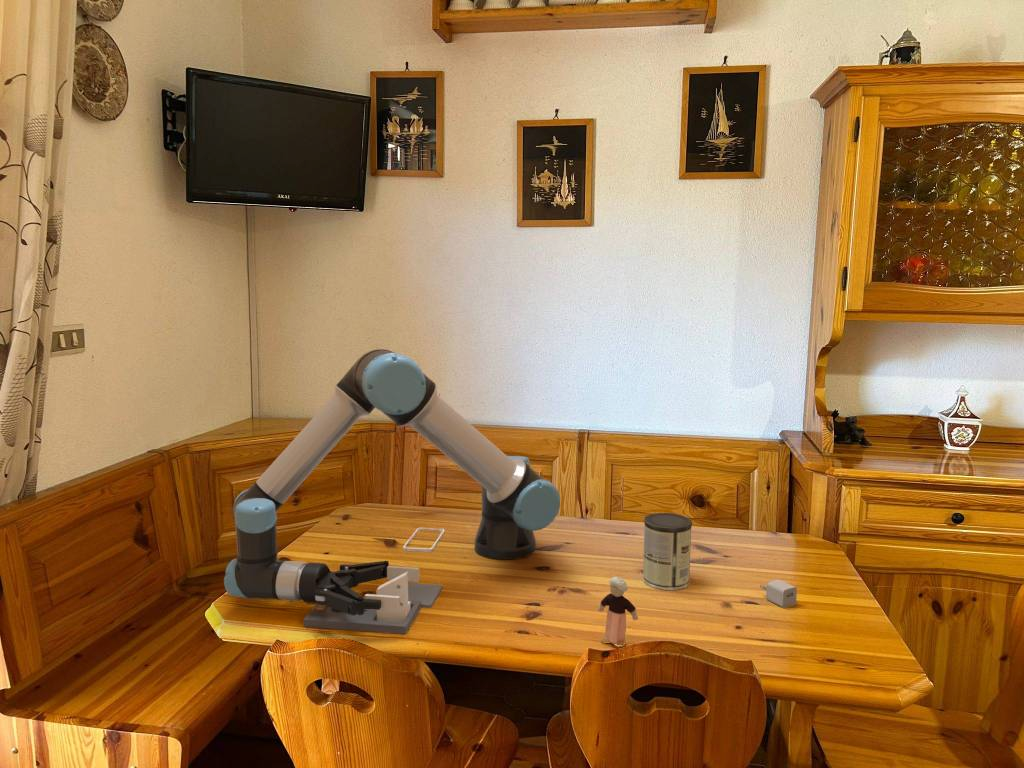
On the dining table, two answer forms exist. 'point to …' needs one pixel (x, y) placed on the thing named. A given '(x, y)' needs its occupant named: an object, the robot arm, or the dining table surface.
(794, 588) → the usb wall charger
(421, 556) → the dining table surface
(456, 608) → the dining table surface
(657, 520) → the coffee can
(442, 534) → the phone case
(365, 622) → the grey control panel
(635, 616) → the grandmother figurine
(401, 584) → the white wedge bracket
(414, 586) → the rubber mat
